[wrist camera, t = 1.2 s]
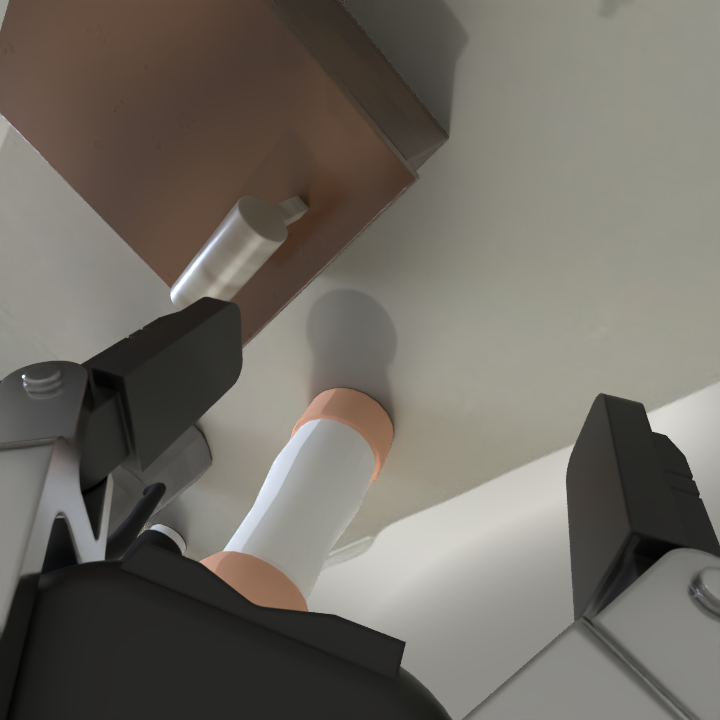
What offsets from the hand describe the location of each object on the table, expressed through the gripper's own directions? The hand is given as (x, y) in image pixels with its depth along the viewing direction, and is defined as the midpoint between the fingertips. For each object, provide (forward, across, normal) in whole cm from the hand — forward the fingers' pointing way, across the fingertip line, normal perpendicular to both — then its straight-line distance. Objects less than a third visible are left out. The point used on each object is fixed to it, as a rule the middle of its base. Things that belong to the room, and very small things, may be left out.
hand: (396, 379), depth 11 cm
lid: (+10, +12, -3) cm, 16 cm away
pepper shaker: (+20, +6, +19) cm, 28 cm away
